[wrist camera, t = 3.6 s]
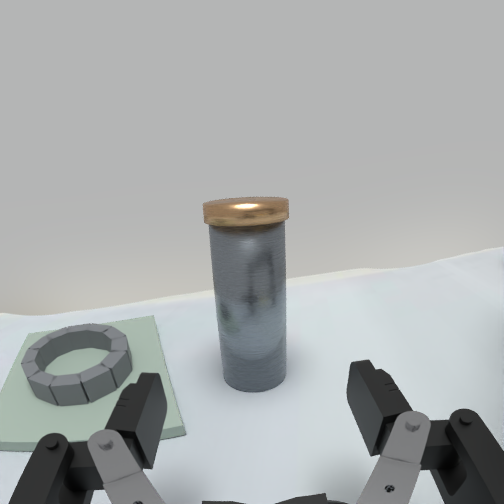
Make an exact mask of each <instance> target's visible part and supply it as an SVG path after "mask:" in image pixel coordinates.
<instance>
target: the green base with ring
mask: <svg viewBox="0 0 504 504" xmlns="http://www.w3.org/2000/svg"><path fill="white" fill-rule="evenodd" d="M142 372H147V373H159V374H160V376H161V380H162V384H163V388H164V392H165V395H166V399H167V414H166V418H165V422H164V426H163V429H162V433H161V437H160V440H162V439H167V438H172V437H177V436H182V435H186V433H185V430H184V426H183V423H182V420H181V417H180V414H179V410H178V407H177V404H176V401H175V397H174V394H173V390H172V387H171V383H170V380H169V376H168V372H167V369H166V365H165V361H164V357H163V353H162V349H161V345H160V341H159V337H158V332H157V328H156V324H155V319H154V315H153V316H147V317H141V318H135V319H129V320H122V321H116V322H110V323H103V324H93V323H92V324H83V325H76V326H69V327H68V328H67V327H65V328H62V329H60V330H53V331H45V332H37V333H29V334H28V336H27V337H26V339H25V341H24V343H23V345H22V347H21V349H20V351H19V353H18V355H17V357H16V359H15V361H14V364H13V366H12V368H11V370H10V372H9V374H8V377H7V379H6V381H5V383H4V386H3V388H2V390H1V393H0V450H3V451H34V449H35V447H36V445H37V444H38V442H39V440H40V439H41V438H42V437H43V436H45V435H47V434H50V433H60V434H62V435H64V436H65V437H66V438H67V440H68V441H69V442H82V441H88V439H89V438H90V436H91V435H92V434H94V433H95V432H97V431H100V430H104V428H105V426H106V424H107V422H108V420H109V418H110V415H111V413H112V411H113V409H114V407H115V406H116V403H117V400H119V396H120V394H121V392H122V390H123V389H124V388H125V387H126V386H128V385H129V384H130V383H136V382H137V380H138V378H139V376H140V374H141V373H142Z"/></svg>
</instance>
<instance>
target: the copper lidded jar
mask: <svg viewBox="0 0 504 504" xmlns="http://www.w3.org/2000/svg"><path fill="white" fill-rule="evenodd" d="M288 205H289V204H288V199H286V198H279V197H242V198H230V199H221V200H215V201H209V202H206V203H203V214H204V222H205V223H206V224H209V234H210V247H211V259H212V269H213V281H214V292H215V302H216V312H217V321H218V331H219V340H220V349H221V357H222V366H223V374H224V379H225V381H226V382H227V383H228V384H229V385H230V386H231V387H233V388H235V389H237V390H240V391H245V392H261V391H266V390H269V389H272V388H274V387H276V386H278V385H279V384H280V383H281V382H282V381H283V380H284V378H285V376H286V261H285V220H286V219H288V218H289V206H288Z"/></svg>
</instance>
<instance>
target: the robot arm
mask: <svg viewBox="0 0 504 504" xmlns="http://www.w3.org/2000/svg"><path fill="white" fill-rule="evenodd" d="M347 400H348V403H349V406H350V408H351V411H352V413H353V415H354V418H355V420H356V422H357V425H358V427H359V430H360V432H361V434H362V437H363V439H364V442H365V444H366V446H367V449H368V451H369V454H370V456H375V455H379V454H380V457H379V460H378V462H377V464H376V466H375V468H374V470H373V472H372V474H371V476H370V478H369V480H368V482H367V484H366V486H365V488H364V490H363V492H362V494H361V496H360V497H359V499H358V501H357V503H356V504H408V503H409V500H410V498H411V495H412V492H413V490H414V487H415V484H416V481H417V478H418V475H419V472H420V470H430V472H431V474H432V476H433V478H434V481H435V483H436V485H437V487H438V490H439V492H440V494H441V496H442V499H443V501H444V503H445V504H504V451H503V450H502V448H501V447H500V445H499V444H498V442H497V441H496V439H495V438H494V436H493V435H492V433H491V432H490V431H489V429H488V428H487V426H486V425H485V423H484V422H483V421H482V419H481V418H480V416H479V415H478V414H477V413H476V412H474V411H472V410H469V409H459V410H456V411H454V412H453V413H452V414H451V416H450V418H449V420H429V418H428V417H427V416H426V415H425V414H423V413H421V412H417V411H413V410H412V408H411V407H410V405H409V403H408V402H407V400H406V399H405V397H404V396H403V394H402V393H401V391H400V390H399V388H398V387H397V385H396V384H395V382H394V380H393V379H392V377H391V376H390V375H389V374H388V373H386V372H385V371H383V370H382V369H377V370H375V368H374V366H373V365H372V363H371V362H370V360H362V361H355V362H352V363H351V365H350V371H349V378H348V384H347ZM166 414H167V399H166V395H165V392H164V388H163V384H162V380H161V376H160V374H159V373H147V372H142V373H141V374H140V376H139V378H138V380H137V382H136V383H130V384H129V385H128V386H126V387H125V388H124V389H123V390H122V392H121V394H120V396H119V400H117V403H116V406H115V407H114V409H113V411H112V413H111V415H110V418H109V420H108V422H107V424H106V426H105V428H104V430H100V431H97V432H95V433H94V434H92V435H91V436H90V438H89V439H88V441H82V442H69V441H68V440H67V438H66V437H65V436H64V435H62V434H60V433H50V434H47V435H45V436H43V437H42V438H41V439H40V440H39V442H38V444H37V445H36V447H35V449H34V451H33V453H32V455H31V457H30V459H29V461H28V463H27V465H26V467H25V469H24V471H23V473H22V475H21V477H20V480H19V482H18V484H17V486H16V488H15V490H14V492H13V495H12V497H11V499H10V501H9V504H90V503H91V499H92V496H93V492H94V490H105V491H106V493H107V495H108V497H109V499H110V501H111V503H112V504H165V503H164V501H163V500H162V499H161V497H160V496H159V494H158V493H157V491H156V490H155V489H154V487H153V486H152V484H151V483H150V481H149V480H148V478H147V477H146V475H145V473H144V472H143V468H144V469H152V468H153V464H154V460H155V456H156V452H157V448H158V445H159V441H160V437H161V433H162V429H163V426H164V422H165V418H166ZM202 504H244V503H239V502H233V501H202ZM276 504H347V503H344V502H339V501H332V500H327V498H326V493H323V494H317V495H310V496H302V497H295V498H292V499H289V500H286V501H282V502H279V503H276Z"/></svg>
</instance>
